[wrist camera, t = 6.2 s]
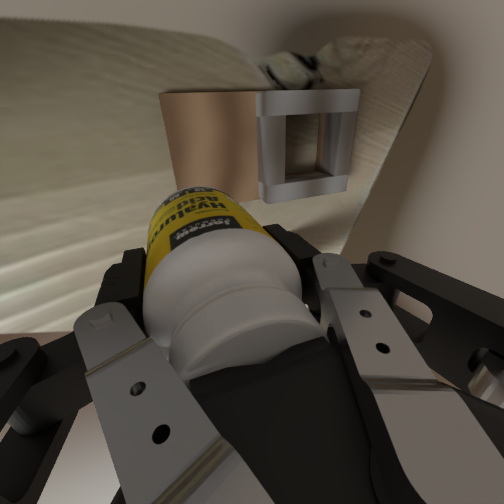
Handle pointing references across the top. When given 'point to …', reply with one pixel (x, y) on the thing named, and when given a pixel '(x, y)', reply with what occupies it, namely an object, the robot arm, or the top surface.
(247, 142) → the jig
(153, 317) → the supplement bottle
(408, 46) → the top surface
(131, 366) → the robot arm
